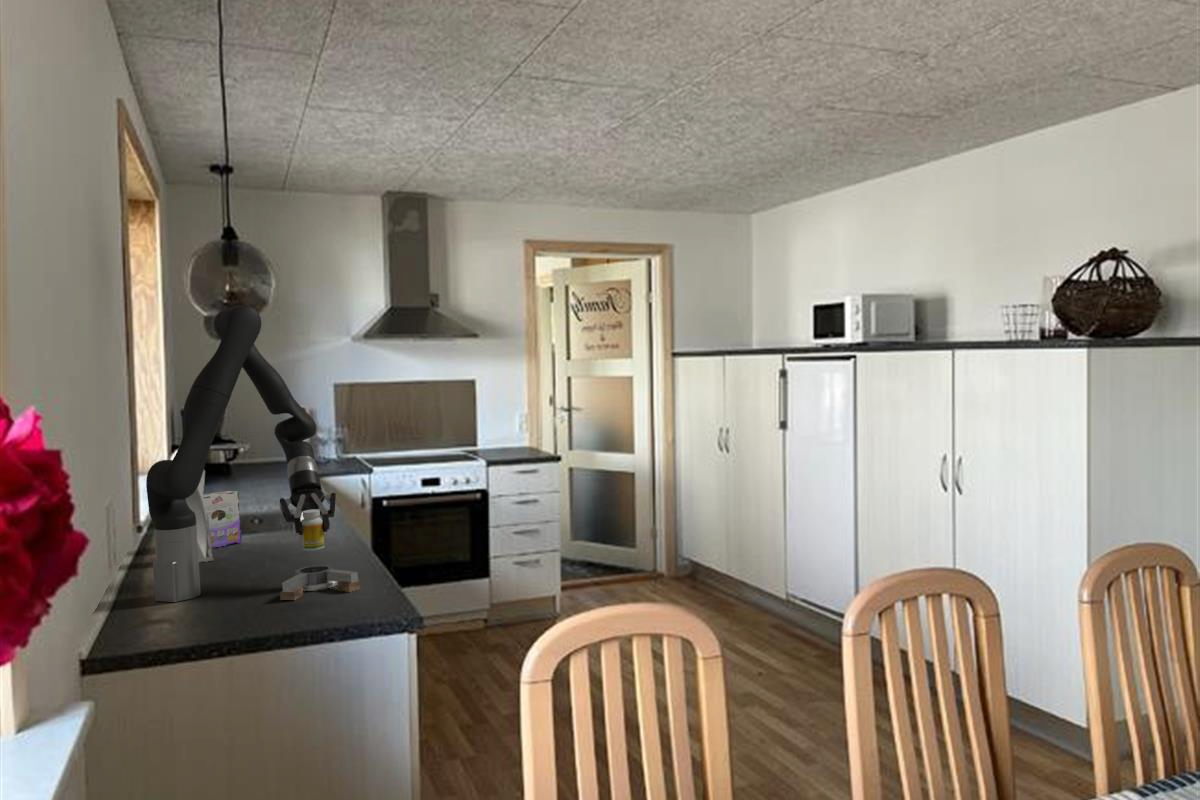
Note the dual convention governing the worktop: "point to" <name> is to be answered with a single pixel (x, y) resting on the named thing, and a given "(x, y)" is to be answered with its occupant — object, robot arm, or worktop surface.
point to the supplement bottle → (312, 531)
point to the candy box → (223, 517)
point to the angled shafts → (331, 575)
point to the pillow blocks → (340, 587)
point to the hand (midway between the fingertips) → (313, 531)
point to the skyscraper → (201, 523)
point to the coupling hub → (316, 577)
